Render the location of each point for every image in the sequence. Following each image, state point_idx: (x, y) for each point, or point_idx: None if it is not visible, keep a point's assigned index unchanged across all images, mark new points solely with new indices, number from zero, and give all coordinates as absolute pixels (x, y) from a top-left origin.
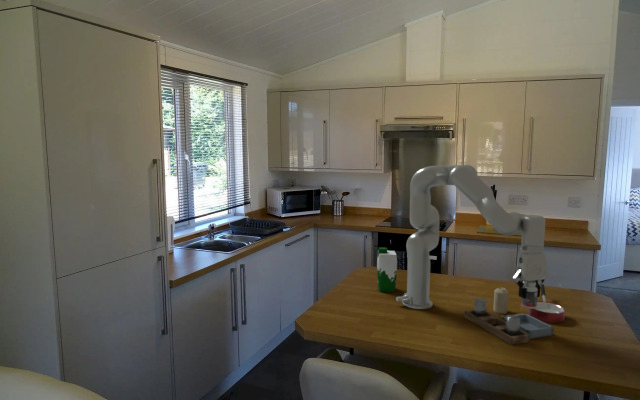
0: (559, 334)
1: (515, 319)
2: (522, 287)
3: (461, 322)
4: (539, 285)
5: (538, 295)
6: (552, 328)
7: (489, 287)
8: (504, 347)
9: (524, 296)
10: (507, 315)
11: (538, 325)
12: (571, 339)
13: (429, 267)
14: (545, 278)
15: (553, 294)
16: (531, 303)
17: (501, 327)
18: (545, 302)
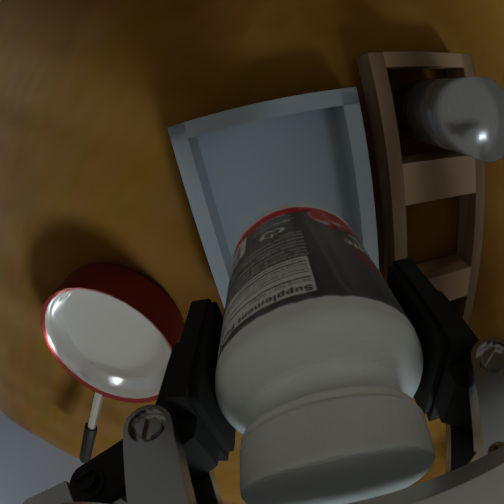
0: (142, 135)
1: (493, 81)
2: (501, 347)
3: (490, 291)
4: (172, 418)
5: (206, 308)
6: (177, 124)
7: (217, 484)
8: (479, 49)
9: (416, 275)
10: (501, 155)
11: (214, 210)
12: (117, 79)
13: None
14: (53, 490)
15: (64, 430)
16: (322, 222)
17: (454, 174)
18: (97, 388)
